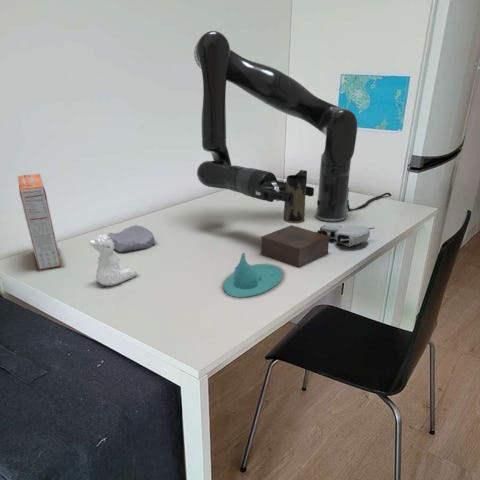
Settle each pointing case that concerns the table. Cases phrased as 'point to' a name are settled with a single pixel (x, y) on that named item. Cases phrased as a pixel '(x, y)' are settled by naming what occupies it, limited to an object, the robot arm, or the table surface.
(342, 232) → the robot toy
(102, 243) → the sitting furry creature
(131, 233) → the stone block
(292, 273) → the table surface
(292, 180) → the mug
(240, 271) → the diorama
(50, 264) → the cracker box
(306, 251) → the walnut block
